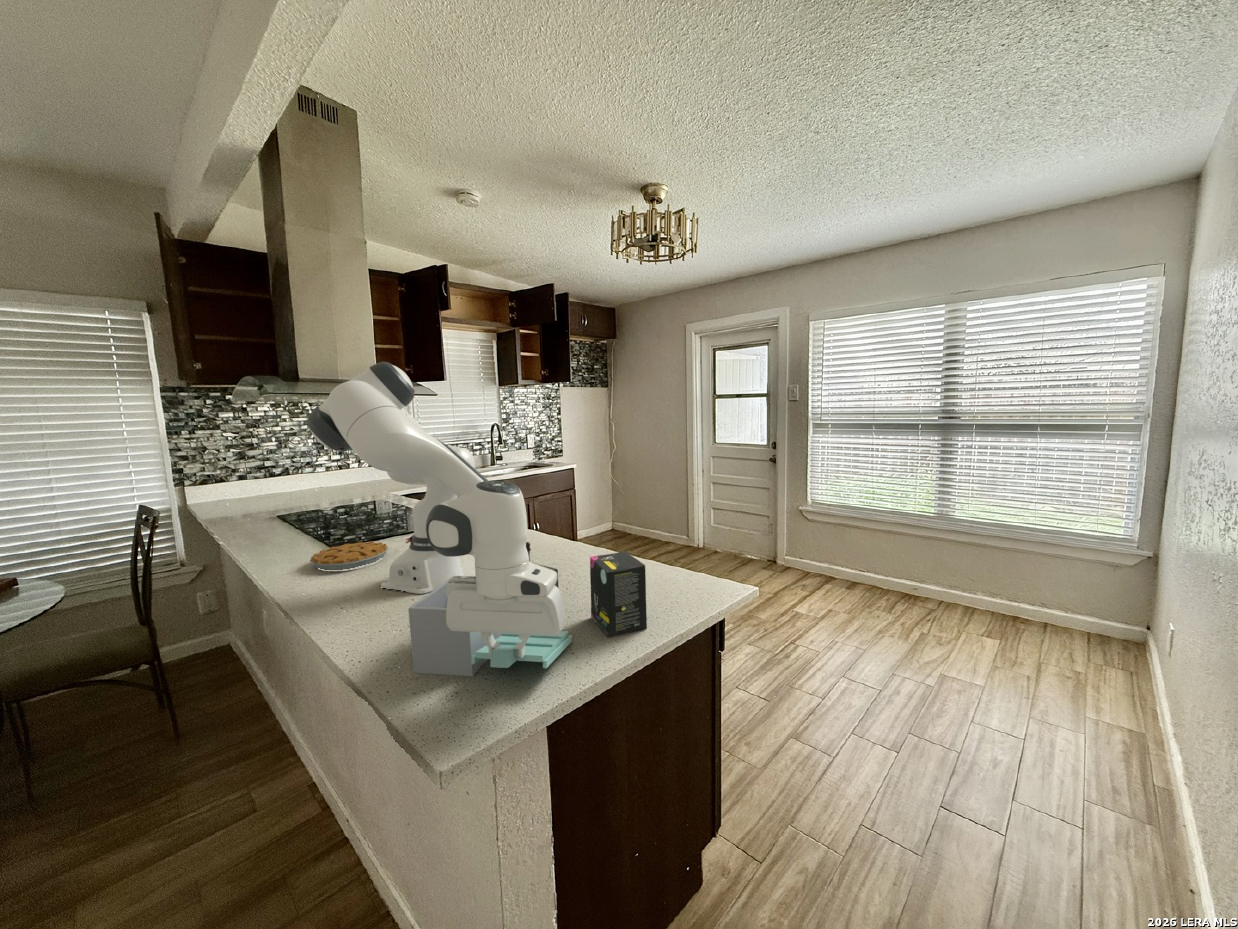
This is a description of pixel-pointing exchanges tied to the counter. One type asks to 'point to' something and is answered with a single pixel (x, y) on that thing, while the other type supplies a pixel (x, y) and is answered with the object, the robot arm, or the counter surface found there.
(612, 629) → the tampon box
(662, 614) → the counter surface
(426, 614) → the tub
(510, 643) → the lid
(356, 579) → the counter surface
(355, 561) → the pie
